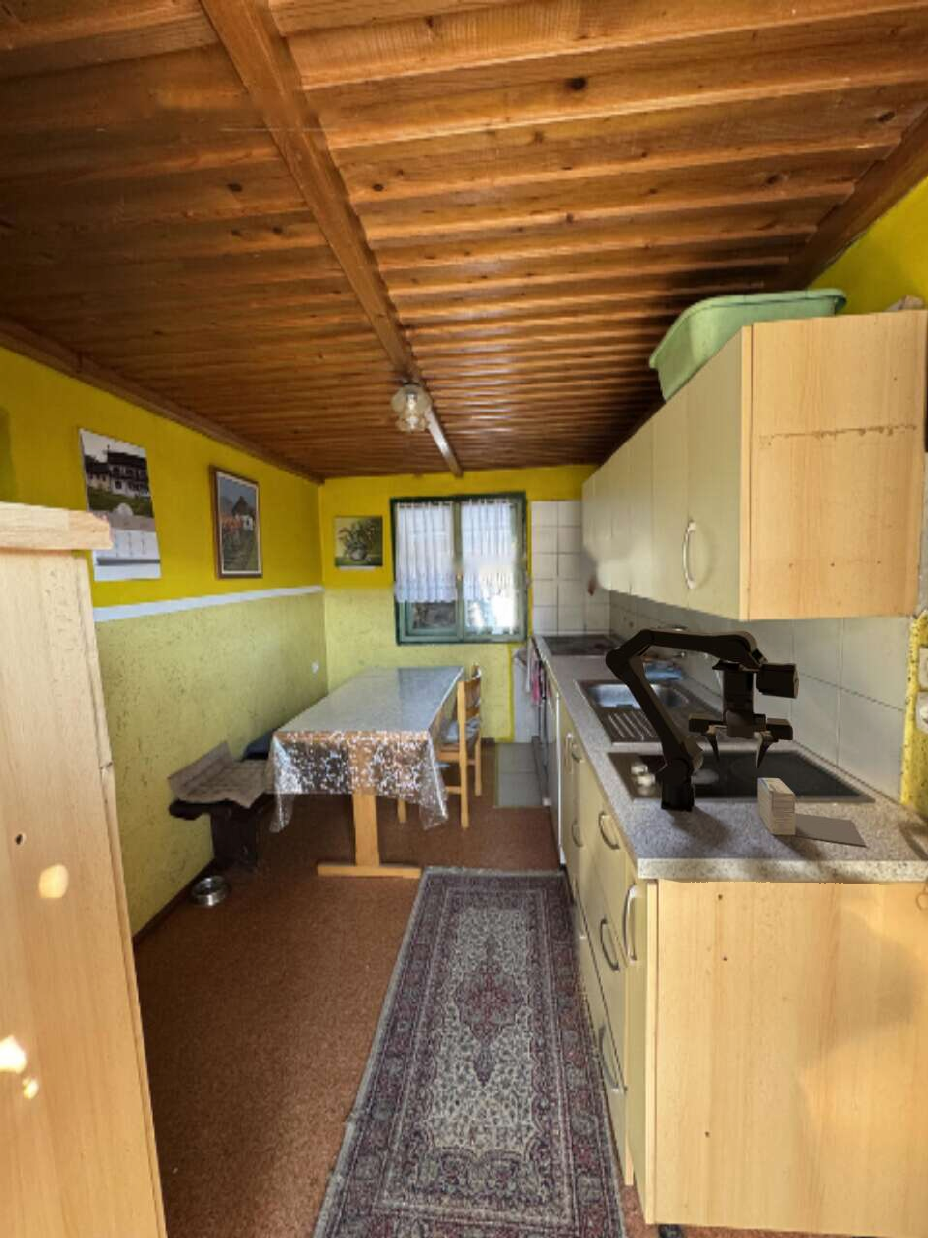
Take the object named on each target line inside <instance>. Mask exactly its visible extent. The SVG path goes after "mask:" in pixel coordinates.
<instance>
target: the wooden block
mask: <svg viewBox="0 0 928 1238" xmlns="http://www.w3.org/2000/svg"><path fill="white" fill-rule="evenodd" d="M795 813H796V794H795V793H794V792H793V791H792V790H791V789H790V787H788V786H787V785H786V784H785V782H784V781H782V780H781V778H777V777H758V778H757V816H758V818H759V819H760V820H761V821H762V823H763V824H764V826H765V827H766V828H767V829H768V831H769V832H770V833H771V835H777V836H779V835H780V836H796V834H795Z"/></svg>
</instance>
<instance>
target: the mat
mask: <svg viewBox="0 0 928 1238" xmlns="http://www.w3.org/2000/svg"><path fill="white" fill-rule="evenodd" d="M861 836H862V835H861V834H860V833H859V831H858V830H857V827H856V825H855V824H854V822H853V820H850V819H844V818H834V817H827V816H821V815H811V814H804V813H797V812H795V837H797V838H804V839H810V840H811V839H812V840H817V841H822V842H831V843H838V844H845V845H849V846H856V847H862V848H863V847H864V848H866V847H867V845H866V844H865V841H864V840H863V838H862V837H861Z"/></svg>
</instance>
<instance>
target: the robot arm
mask: <svg viewBox="0 0 928 1238" xmlns="http://www.w3.org/2000/svg"><path fill="white" fill-rule="evenodd" d="M757 646H758V644H757V641H756V638H755V637H754V636H753V635H752V634H751V633H750V632H749V631H745V630H733V631H721V632H711V633H710V632H709V633H708V632H707V633H706V632H695V631H685V630H677V629H676V630H675V629H666V628H664V629H663V628H657V627H654V626H650V627H649V626H648V627H645V628H642V629H640V630H639V631H638V632H637V633H636V634H634V636H633V637H631V638H630V639H628V640H627V641H626V642H624V643H623V644H622V645H620V646H618V647H614V648H613V649H610V650H609V651H608V652H607V653H606V655H605V659H604V662H605V665H606V667H607V669H609V671H610V672H611V674H613V675H614V677H615V678H616V679H617V680H619V681H620V682H621V683H623V684H624V685H626V688H628V690H629V692H630V693H631V695H632V696H633V698H634V700H635V702H636V703H637V705H638V706H639V708H640V709H641V711H642V713H643V715H644V716H645V718H646V719H647V721H648V723H649V724H650V726H651V728H652V730H653V731H654V733H655V734H656V736H657V738H658V739H659V741H660V744H661V749H662V750H661V751H662V756H663V759H664V761H665V765H664V766H662V768H660V769H659V770H658V771H657V772H656V775H657V778H658V781H659V782H660V785H661V801H660V808H661V809H668V810H674V811H682V812H688V813H692V812H693V807H695V806H696V802H695V800H696V793H695V792H696V790H695V789H696V787H695V786H696V785H695V784H694V783H693V779H692V778H693V777H692V776H694V774H695V773H696V772H697V771H698V770H699V769H700V767H701V766H702V765H703V762H704V756H703V754H702V753H703V751H704V750H703V748H701V747H700V746H699V743H698V742H697V741H696V739H695V736H694V735H693V734H691V735H690V734H689V736H686V735H685V734H684V733H683V732H681V731H680V730H679V728H678V726H677V725H676V724H675V722H674V720H673V718H672V717H671V715H670V714H669V712H668V710H667V708H665V706H664V704H663V703H662V701H661V700H660V698H659V696H658V695H657V693H656V692H655V690H654V688H653V687H652V685H651V684H650V682H649V680H648V679H647V677H646V672H645V667H644V662H643V661H642V658H641V656H643V654H645V653H646V652H647V651H648V650H649V649H651V647H660V648H668V649H676V650H683V651H691V652H699V653H705V654H707V655H710V656H712V657H714V658H716V659H719V660H718V662H716V664H714V665H713V666H711V670H712V671H721V672H722V718H721V719H720V718H710V716H709V715H710V714H709V713H704V712H691V713H689V715H688V732H690V733H697V734H700V736H701V737H704V738H705V737H706V739H707V741H708V742H709V744H710V746H711V749H712V752H713V755H714V757H715V760H716V763H717V765H720V764H721V762H720V760H721V757H720V750H719V749H720V748H719V744H718V736H717V729H721V730H726V736H727V737H728V738H730V739H731V738H732V739H736V738H737V739H738V738H741V739H746V740H753V739H755V734H756V733H758V738H757V748H756V754H755V767H756V769H759V768H760V767H761V764H762V762H763V759H764V757H765V755H766V753H767V751H768V749H769V748H770V746H771V745H772V744H774V743H775V744H778V743H779V742H780V740H781V741H793V739H794V729H793V728H794V727H793V726H792V724H791V722H790V721H789V720H788V719H786V718H776V717H775V718H774V717H766V716H767V715H766V713H758V712H756V713H755V688H756V690H757V691H758V693H761V696H765V697H773V698H782V699H783V698H784V699H792V700H797V698H798V695H799V687H800V678H799V676H798V671H797V670H798V669H797V664H796V663H793V662H787V663H786V662H785V663H779V662H769V660H768V659H767V658H766V657H765V655H764V654H763V653H762V651H760V649H759V647H757Z"/></svg>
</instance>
